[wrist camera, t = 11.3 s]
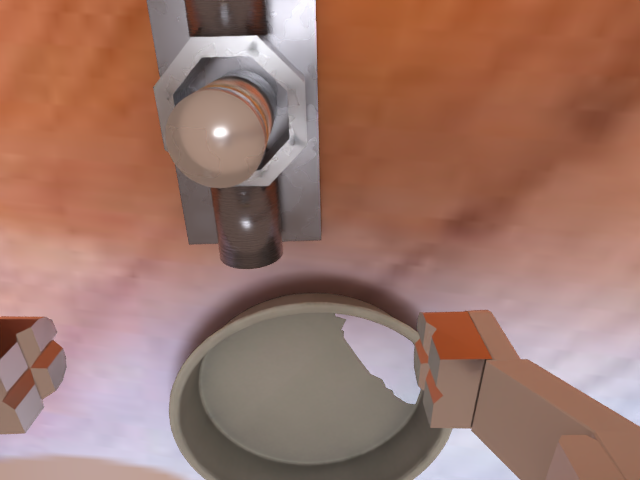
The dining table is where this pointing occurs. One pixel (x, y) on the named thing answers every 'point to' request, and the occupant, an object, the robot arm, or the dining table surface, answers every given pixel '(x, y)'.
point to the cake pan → (297, 400)
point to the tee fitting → (287, 132)
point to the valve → (222, 129)
